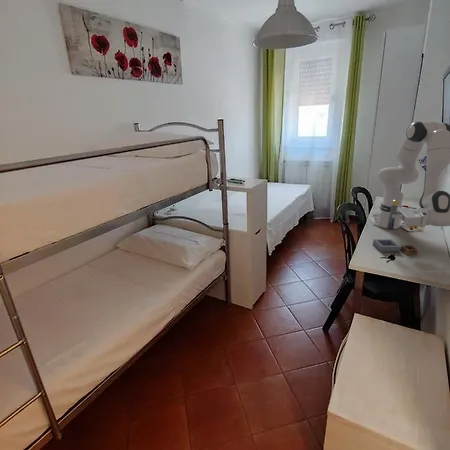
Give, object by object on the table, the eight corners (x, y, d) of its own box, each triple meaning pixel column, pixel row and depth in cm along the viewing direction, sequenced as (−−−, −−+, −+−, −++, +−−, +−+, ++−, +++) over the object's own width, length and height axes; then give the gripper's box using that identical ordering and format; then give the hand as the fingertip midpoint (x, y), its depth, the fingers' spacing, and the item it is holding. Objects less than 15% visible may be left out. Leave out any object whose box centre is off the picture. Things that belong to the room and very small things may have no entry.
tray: (372, 244, 175) (373, 239, 174) (390, 245, 175) (391, 239, 174) (380, 252, 165) (382, 246, 164) (399, 252, 165) (400, 246, 164)
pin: (384, 227, 167) (390, 198, 162) (391, 227, 168) (397, 199, 162) (388, 229, 164) (394, 200, 159) (394, 229, 164) (401, 200, 159)
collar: (400, 250, 168) (401, 245, 167) (411, 250, 168) (412, 245, 167) (406, 255, 163) (407, 249, 162) (417, 255, 163) (418, 250, 162)
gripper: (414, 205, 169) (387, 203, 172) (428, 216, 150) (397, 214, 153) (411, 216, 171) (384, 214, 174) (425, 228, 152) (395, 226, 155)
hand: (390, 214), depth 163 cm, fingers closed on pin, 3 cm apart
